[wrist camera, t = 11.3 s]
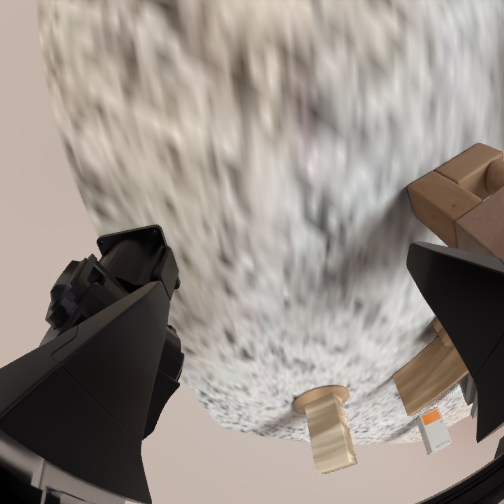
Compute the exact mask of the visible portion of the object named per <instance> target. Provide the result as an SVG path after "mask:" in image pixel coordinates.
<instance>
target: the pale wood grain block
mask: <svg viewBox="0 0 504 504" xmlns="http://www.w3.org/2000/svg"><path fill="white" fill-rule="evenodd" d="M304 406H305V411H306V417H307V423H308V428H309V434H310V440H311V446H312V452H313V458H314V464H315V470H316V472H317V473H324V474H327V473H331V472H334V471H337V470H340V469H343V468H346V467H349V466H352V465H355V464H357V460H356V455H355V451H354V447H353V443H352V439H351V435H350V431H349V427H348V423H347V419H346V415H345V411H344V407H343V403H342V400H341V398H339V397H338V396H337V395H335V394H334V393H331V394H328V395H326V396H324V397H321V398H319V399H317V400H314V401H312V402H310V403H307V404H305V405H304Z"/></svg>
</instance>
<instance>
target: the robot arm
mask: <svg viewBox="0 0 504 504" xmlns="http://www.w3.org/2000/svg"><path fill="white" fill-rule="evenodd" d="M154 229H155V230H157V231H158V233H156V232H154ZM101 241H103V242H104V243H102V242H101ZM97 245H98V247H99V250H100V252H101V254H102V257H101V259H100V260H99V262H98V261H97V258H96V257H95V256H94V255H93V254H91V255H90V256H89V257H88V258H87V259H86V258H84V260H82V261H81V262H79V261H73V260H72V261H71V263H70V264H69V265H68V266H67V267H66V269H65V270H64V271H63V273H62V274H61V275H60V277H59V278H58V280H57V281H56V283H55V285H54V286H53V288H52V290H51V292H50V293H51V303H50V305H49V308H48V312H47V315H46V319H45V320H46V321H47V322H48V323H49V324H50V325H51V327H50V328H49V330H48V331H47V333H46V335H45V336H44V338H43V340H42V341H41V343H40V346H39V347H38V348H36V349H35V350H33V351H31V352H29V353H27V354H25V355H24V356H22V357H20V358H18V359H16V360H15V361H13V362H11V363H9V364H8V365H6V366H4V367H2V368H0V504H125V500H127V501H131V502H136V503H141V504H152V500H151V496H150V492H149V488H148V484H147V480H146V476H145V472H144V467H143V463H142V457H141V444H142V440H144V439H145V438H146V437H147V436H148V435H150V434H151V433H152V432H153V431H154V429H155V426H156V424H157V421H158V419H159V416H160V414H161V412H162V410H163V408H164V406H165V404H166V403H167V401H168V399H169V398H170V397H171V395H172V394H173V393H174V392H175V391H176V390H177V389H178V388H179V386H180V383H179V382H178V380H179V378H180V375H181V372H182V367H183V362H184V354H183V353H182V352H181V342H180V339H179V337H178V335H177V333H176V329H175V328H174V327H172V326H171V325H168V324H167V322H168V315H169V308H170V300H171V298H172V294H173V291H174V289H178V288H179V286H180V280H179V277H178V273H179V270H178V267H177V264H176V261H175V258H174V255H173V252H172V249H171V248H170V247H169V246H167V243H166V240H165V237H164V234H163V230H162V228H161V227H160V226H159V225H151V226H146V227H141V228H136V229H131V230H126V231H122V232H117V233H112V234H108V235H103V236H100V237H99V238H98V239H97ZM406 265H407V269H408V271H409V272H410V274H411V276H412V278H413V279H414V281H415V283H416V285H417V287H418V289H419V290H420V292H421V294H422V296H423V297H424V299H425V300H426V302H427V303H428V305H429V306H430V308H431V309H432V311H433V312H434V314H435V315H436V317H437V319H438V320H439V322H440V323H441V325H442V326H443V328H444V330H445V331H446V333H447V335H448V336H449V338H450V340H451V341H452V343H453V345H454V346H455V348H456V350H457V351H458V353H459V355H460V357H461V359H462V360H463V362H464V364H465V366H466V368H467V369H468V371H469V373H470V375H471V377H472V379H474V380H473V381H474V383H475V386H476V390H477V435H476V440H477V443H479V442H480V441H482V440H483V439H485V438H486V437H488V436H489V435H491V434H492V433H494V432H495V431H497V430H498V429H499V428H501V427H502V426H504V259H503V258H497V257H492V256H488V255H483V254H479V253H474V252H470V251H465V250H460V249H455V248H451V247H446V246H441V245H436V244H431V243H425V242H412V243H411V244H410V245H409V250H408V255H407V261H406ZM175 283H176V284H175ZM416 504H504V436H503V437H502V438H501V439H500V441H499V444H498V448H497V451H496V454H495V457H494V460H492V461H491V462H489V463H488V464H487V465H485V466H484V467H482V468H481V469H479V470H478V471H476V472H475V473H473V474H471V475H470V476H468V477H466V478H465V479H463V480H461V481H460V482H458V483H456V484H454V485H453V486H451V487H449V488H447V489H445V490H443V491H441V492H439V493H437V494H435V495H433V496H431V497H429V498H427V499H425V500H423V501H420V502H419V503H416Z"/></svg>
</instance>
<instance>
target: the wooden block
mask: <svg viewBox="0 0 504 504" xmlns="http://www.w3.org/2000/svg"><path fill="white" fill-rule="evenodd" d="M407 190H408V193H409V197H410V200H411V203H412V207H413V210H414V214H415V216H416V217H417V218H418V219H419V220H420V221H421V222H422V223H423V224H424V225H426V226H427V227H428V228H429V229H430V230H431V231H432V232H433V233H434V234H435V235H437V236H438V237H439V238H440V239H441V240H442V241H443V242H444V243H445V244H446V245H447V246H448V247H451V248H455V249H460V250H465V251H470V252H474V253H479V254H483V255H488V256H492V257H497V258H503V259H504V158H503V153H502V152H501V151H499V150H497V149H494V148H492V147H490V146H487V145H485V144H482V143H478V144H476V145H475V146H473V147H471V148H470V149H468V150H467V151H465V152H463V153H462V154H460V155H458V156H457V157H455V158H454V159H452V160H450V161H449V162H447V163H445V164H444V165H442V166H440V167H439V168H437V169H436V172H435V171H433V172H430V173H428V174H427V175H425V176H423V177H422V178H420V179H418V180H417V181H415V182H413V183H412V184H410V185H408V187H407ZM490 195H491V196H490ZM489 196H490V197H489ZM488 197H489V198H488ZM486 198H487V199H486ZM485 199H486V200H485ZM484 200H485V201H484Z"/></svg>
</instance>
